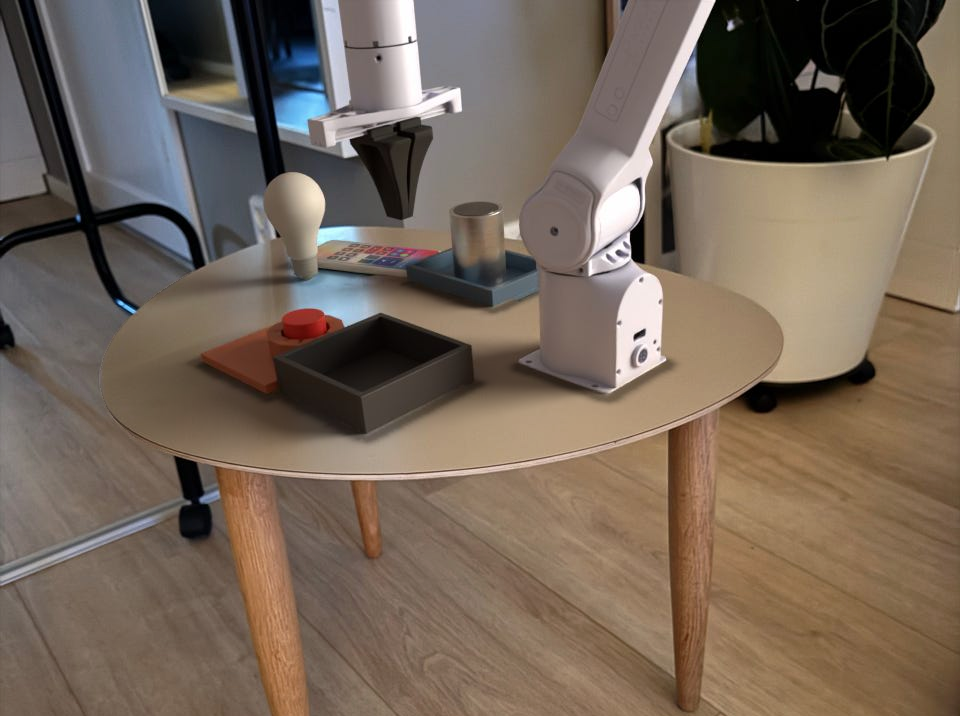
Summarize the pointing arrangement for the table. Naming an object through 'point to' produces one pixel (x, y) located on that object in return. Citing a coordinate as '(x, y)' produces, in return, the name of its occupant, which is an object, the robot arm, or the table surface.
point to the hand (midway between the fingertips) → (399, 216)
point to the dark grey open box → (374, 371)
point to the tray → (441, 276)
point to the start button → (304, 324)
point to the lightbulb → (296, 218)
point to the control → (259, 354)
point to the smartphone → (369, 257)
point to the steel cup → (478, 242)
